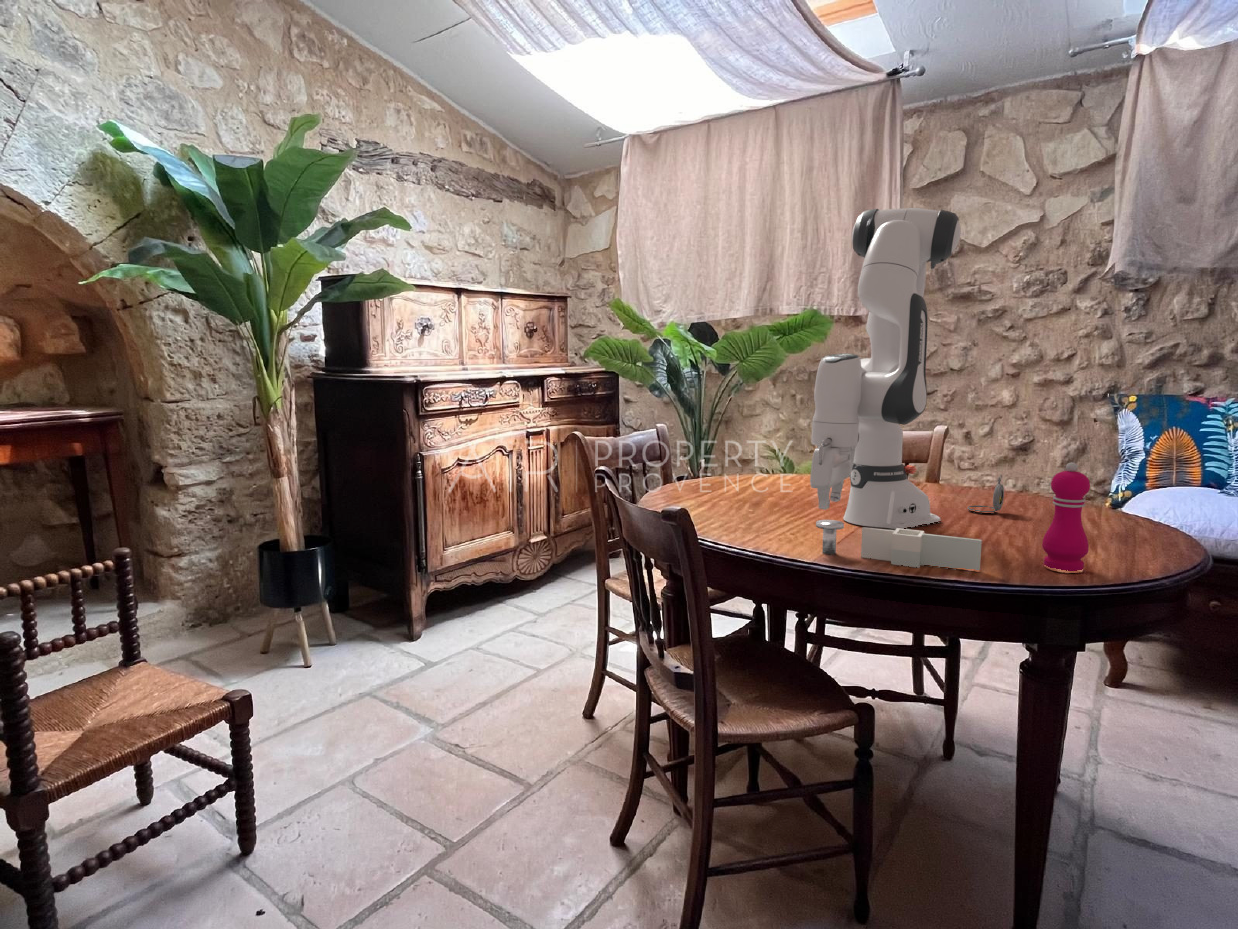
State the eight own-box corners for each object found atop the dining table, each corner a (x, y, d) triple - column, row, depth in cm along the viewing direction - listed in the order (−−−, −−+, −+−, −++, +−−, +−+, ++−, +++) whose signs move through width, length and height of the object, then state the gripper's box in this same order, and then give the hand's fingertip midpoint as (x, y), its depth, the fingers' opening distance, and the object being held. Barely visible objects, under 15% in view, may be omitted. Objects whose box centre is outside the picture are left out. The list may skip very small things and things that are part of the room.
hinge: (980, 568, 130) (982, 537, 129) (978, 575, 126) (980, 543, 125) (864, 553, 141) (865, 524, 140) (858, 560, 137) (859, 530, 136)
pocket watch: (963, 509, 180) (965, 470, 179) (998, 509, 179) (1000, 471, 178) (975, 516, 172) (977, 476, 171) (1011, 516, 171) (1014, 476, 170)
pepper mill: (1031, 564, 132) (1039, 460, 129) (1067, 562, 133) (1076, 459, 130) (1058, 575, 125) (1067, 466, 122) (1096, 574, 126) (1106, 464, 123)
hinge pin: (832, 548, 145) (833, 518, 144) (848, 555, 140) (849, 524, 139) (810, 550, 144) (810, 520, 143) (825, 557, 139) (826, 526, 138)
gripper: (838, 442, 127) (833, 516, 129) (861, 433, 145) (856, 498, 147) (804, 439, 131) (799, 511, 133) (830, 431, 148) (826, 495, 150)
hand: (829, 504), depth 140 cm, fingers open, 8 cm apart
